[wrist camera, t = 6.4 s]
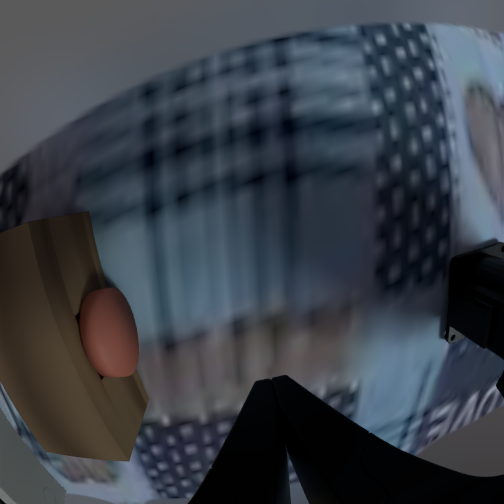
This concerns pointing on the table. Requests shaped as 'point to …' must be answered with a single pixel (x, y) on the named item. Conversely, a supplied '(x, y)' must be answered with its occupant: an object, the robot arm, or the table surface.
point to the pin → (109, 332)
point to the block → (60, 343)
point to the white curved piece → (24, 472)
